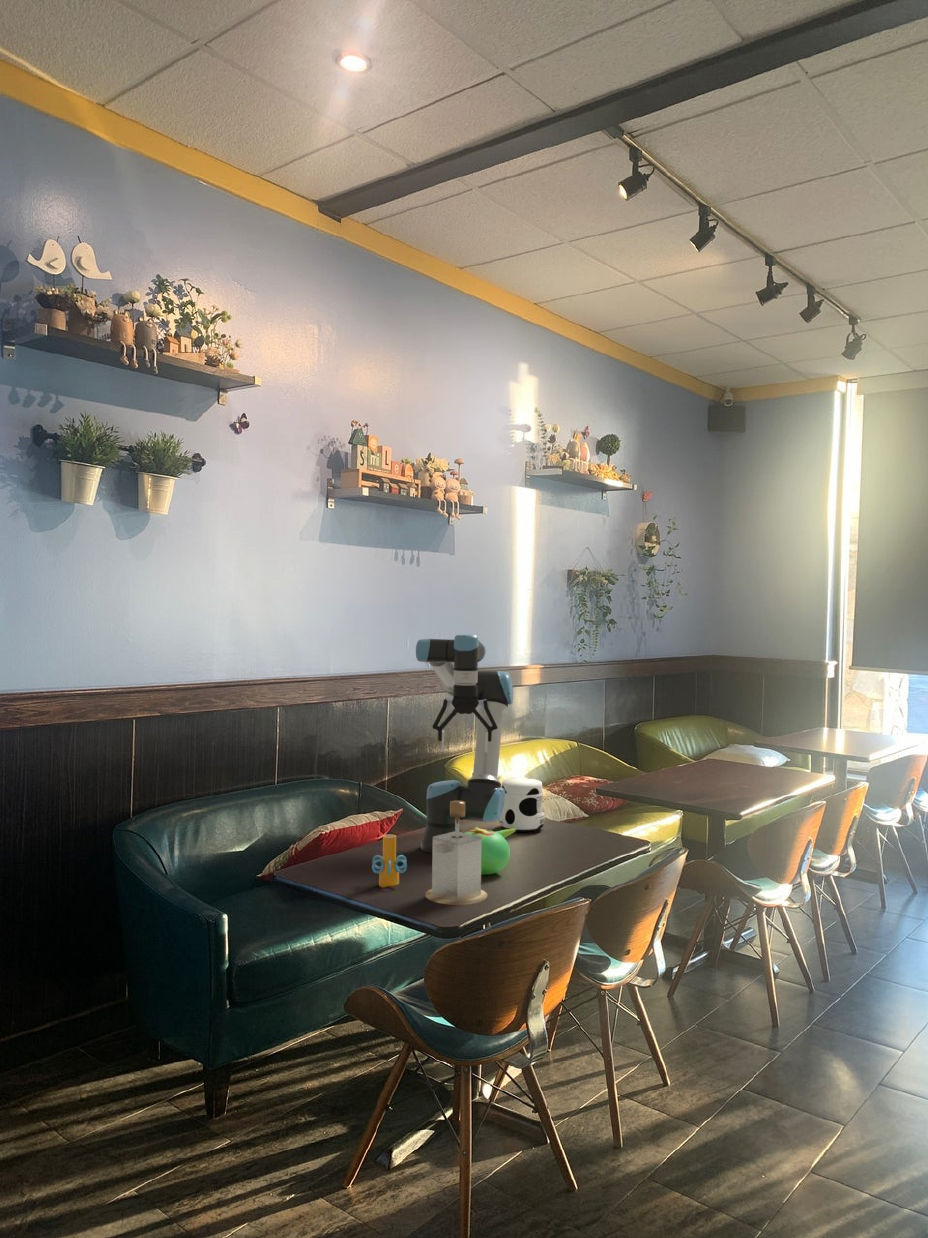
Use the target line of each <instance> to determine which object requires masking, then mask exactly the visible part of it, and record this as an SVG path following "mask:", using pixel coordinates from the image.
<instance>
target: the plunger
mask: <svg viewBox="0 0 928 1238" xmlns="http://www.w3.org/2000/svg"><path fill="white" fill-rule="evenodd" d="M450 817H455V838H456V839H458V838H459V820H460V818H461V817H465V802H464V801H451V802H450ZM460 821H461V820H460Z"/></svg>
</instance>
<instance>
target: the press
mask: <svg viewBox="0 0 928 1238" xmlns="http://www.w3.org/2000/svg"><path fill="white" fill-rule="evenodd" d="M481 844H482V837H480V836H475V835H471V834H467V833H465V832H462V831H461V832H459V838H458V839H456V838H455V831H454V832H450V833H446V834H442V835H438V836H434V837H433V853H431V854H432V857H431V858H432V860H431V861H432V862H431V863H432V868H431V870H432V871H431V873H432V874H431V889H432V895H435V896H438V897H441V898H444V899H448V900H451V901H454V902H460V901H463V900H466V899H469V898H472V897H475V896H478V895H481V890H482V875H481Z"/></svg>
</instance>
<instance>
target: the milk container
mask: <svg viewBox="0 0 928 1238" xmlns="http://www.w3.org/2000/svg"><path fill="white" fill-rule="evenodd" d="M501 787H502V788H504V790H505V802H504V807H503V811H502V814H501V816H500V818H499V820H498V821H499V824H500V826H501V828H503V830H507V829H516V831H515V832H519V833H528V832H535V831H538V830H540V829H542V828H543V827H544V825H545V817H546V816H545V811H544V806H543V795H544V794H543V791H544V789H543V782H542V781H541V780H540V779H539V780H538V779H534V778H524V777H523V778H522V777H521V778H520V777H518V778H516V777H515V778H507V779H504V780H502V782H501Z"/></svg>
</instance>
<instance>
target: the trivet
mask: <svg viewBox="0 0 928 1238" xmlns="http://www.w3.org/2000/svg"><path fill="white" fill-rule="evenodd" d="M424 895H425V897H426V898H427V900H430V901H432V902H433V903H438V904H443V905H450V906H453V905H454V906H463V905H464V906H465V905H466V906H467V905H472V904H473V905H474V904H478V903H480V902H483V901H484V900H487V898H488V893H487V892H486V891H485V890H483V889H481V895H478V896H475V897H472V898H469V899H466V900H463V901H460V902H454V901H451V900H448V899H444V898H441V897H438V896H435V895H432V888H431V889H428V890H427V891H426V892H425V894H424Z"/></svg>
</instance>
